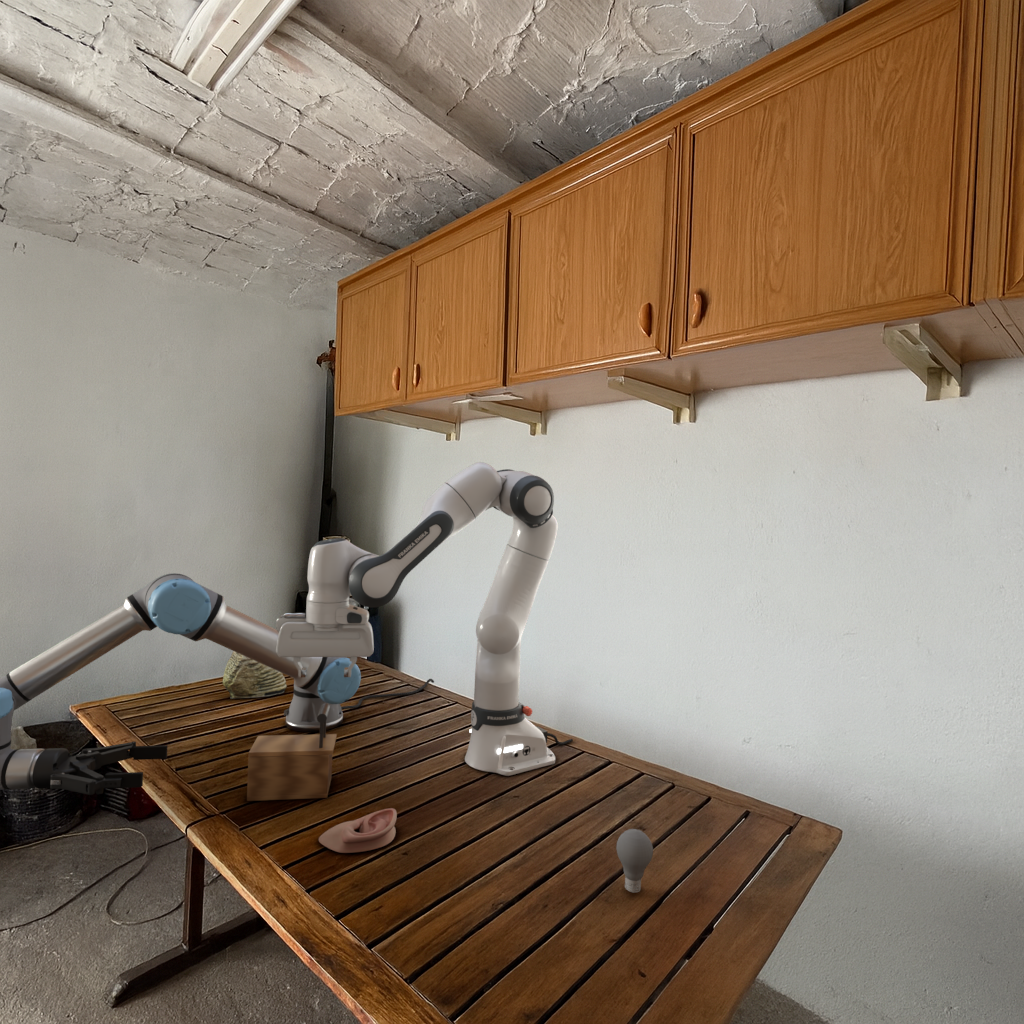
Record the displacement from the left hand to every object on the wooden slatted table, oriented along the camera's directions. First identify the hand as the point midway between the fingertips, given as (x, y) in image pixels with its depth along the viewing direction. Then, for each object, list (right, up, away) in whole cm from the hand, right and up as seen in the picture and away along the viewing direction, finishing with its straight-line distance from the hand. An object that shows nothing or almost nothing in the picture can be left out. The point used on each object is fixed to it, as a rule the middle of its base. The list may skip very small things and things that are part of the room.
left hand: (155, 765), depth 131 cm
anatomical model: (+45, -8, -13) cm, 48 cm away
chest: (+26, -7, +5) cm, 28 cm away
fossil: (-7, -5, +67) cm, 67 cm away
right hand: (+34, +17, +6) cm, 38 cm away
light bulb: (+94, -11, -26) cm, 98 cm away
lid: (+27, +2, +5) cm, 28 cm away
